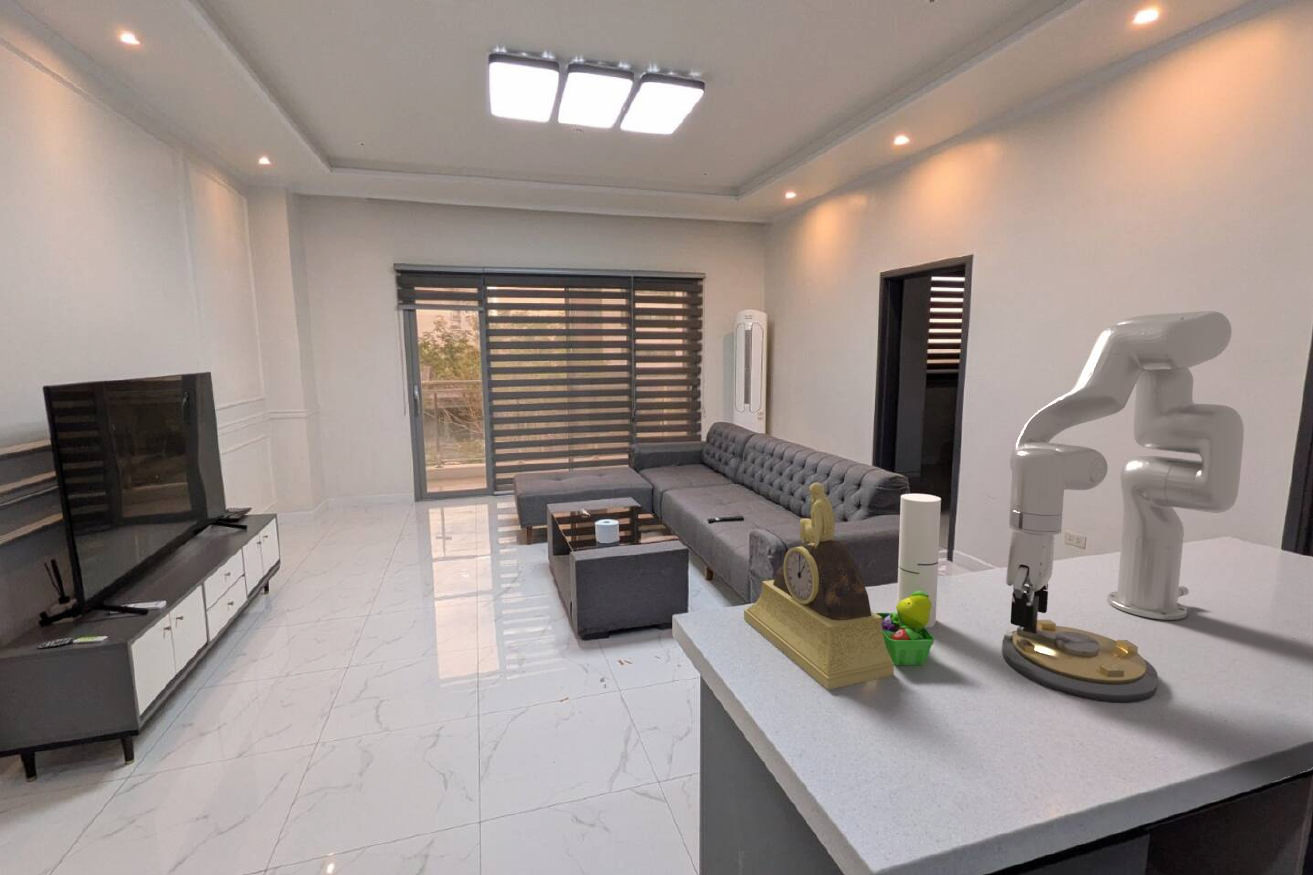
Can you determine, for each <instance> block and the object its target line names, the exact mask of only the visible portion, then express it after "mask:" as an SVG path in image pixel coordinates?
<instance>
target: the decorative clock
mask: <svg viewBox="0 0 1313 875" xmlns="http://www.w3.org/2000/svg"><path fill="white" fill-rule="evenodd" d="M808 489H809V493H810V498H812V499H811V500H810V501H811V502H810V504H811V506H810V507H811V508H810V518H801V519H800V520H799V529H798V530H799V533H800V534H799V537H800V540H801V543H800V545H798V546H793V547H791V548H788V550H787V552H786V553H785V556H784V557H783V558H784V560H783V564H782V565H781V566H780V567H779V569H777V571H776V574H775V577H774V579H771V580H764V581H763V580H762V581H761V584H762V585H761V591H760V596H759V597H758V598H757V600H756V601H755V603H753V604H752V605H751V606H748V608H747V609H744V610H743V619H744V621H746V622H747V623H748V624H749V625H751V626H752V627H753V628H754V629H755V631H758V633H760V634H761V635H762V636H764V638H766V639H767V640H768V641H769V642H770V641H771V642H770V643H772V645H774V646H775V647H776V648H777V649H779V650H780V651H781V652H782V653H783V652H784V653H783V654H784V655H786V657H788V658H790V660H792V661H793V662H794V663H795V664H796V663H797V664H796V665H797V666H799V667H800V668H801V669H802V670H804V672H805V673H807V674H808V675H809V676H810V677H811V678H813V679H814V680H815V681H816V682H817V683H818V684H820V685H822V687H823V688H824V689H826V690H827V691H828V690H833V689H836V688H837V689H838V688H841V687H842V688H843V687H846V686H851V685H855V684H854V683H856V684H859V683H864V682H867V681H868V682H869V681H872V680H877V679H882V678H887V677H890V676H893V675H894V674H895V673H894V670H895V665H894V664H893V662H892V660H891V657H890V655H889V653H888V651H887V648H886V645H885V642H884V638H883V631H882V617H881V616H879V615H877V614H876V613H877V612H874V611H872V610H871V604H870V599H869V594H868V591H867V588H866V586H865V583H864V581H863V577H862V575H861V572H860V570H859V568H858V566H857V564H856V563H855V561H854V559H853V556H852V555H851V553H850V552H849V549H848V547H847V546H846V545H845V544H844V543H843V542H841V541H838V540H834V539H835V532H836V531H835V530H836V529H835V526H836V523H835V519H836V517H835V514H834V509H833V506H832V503H831V501H830V500H829V498H828V497H827V496H826V493H825V488H824V486H823V484H822V483H820V482H813V483H812V484H810V486H808Z"/></svg>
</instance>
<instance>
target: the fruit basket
mask: <svg viewBox="0 0 1313 875" xmlns="http://www.w3.org/2000/svg"><path fill="white" fill-rule="evenodd" d="M928 597H929V595H928V594H925V593H924V592H922V591H915V592H914V593H913V594H912V595H911V596H910V597H908V598H905V599H903V600H901V601H900V602H899V603H898V604H897V603H896V612H875V613H876V614H877V615H879V616H881V617H882V631H883V638H884V642H885V645H886V648H887V651H888V653H889V655H890V657H891V660H892V663H893V664H894V666H917V665H919V666H925V664H926V663H927V659H928V656H929V654H930V650H931V648H932V645H933V644H934V642H935V637H934V636H933V635H932V634H931V633H930V632H929V631H928V630H927V628H924V626H926V625H927V623H928V621H929V617H930V609H931V602H930V600H929V599H928ZM897 612H898V613H897Z"/></svg>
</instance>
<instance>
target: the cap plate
mask: <svg viewBox="0 0 1313 875" xmlns="http://www.w3.org/2000/svg"><path fill="white" fill-rule="evenodd" d="M1015 631H1016V630H1014V631H1006V632H1005V634H1004V635H1003V639H1002V643H1001V644H1002V645H1001V655H1002V658H1003V660H1004V662H1005V663H1006V664H1007V665H1008V666H1009V667H1010V668H1011V669H1013V671H1015V672H1017V674H1019V675H1020V676H1022V677H1024V678H1025V679H1028V680H1029V681H1031V682H1032V683H1035V684H1038V685H1040V686H1042V687H1045V688H1046V689H1049V690H1053V691H1055V692H1058V693H1060V694H1065V695H1068V696H1071V697H1075V698H1080V699H1084V700H1090V701H1096V702H1102V703H1111V704H1112V703H1113V704H1114V703H1115V704H1130V703H1131V704H1134V703H1139V702H1144V701H1146V700H1149V699H1151V698H1152V697H1154V695H1156V693H1157V690H1158V680H1159V676H1158V672H1157V670H1156V668H1155V667H1154V666H1153V665H1152V663H1150V662H1149V661H1148V660H1146V659H1145V658H1143V659H1144V661H1145V662H1146V673H1145V676H1144V677H1143V679H1141V680H1140V681H1137V682H1134V683H1129V684H1100V683H1093V682H1087V681H1082V680H1077V679H1073V678H1069V677H1066V676H1062V675H1059V674H1056V673H1053V672H1051V671H1048V670H1046V669H1043V668H1041V667H1039V666H1037V665H1035V664H1033V663H1031V662H1029V661H1028V660H1026V659H1025V658H1023V657H1022V656H1021V655H1019V654H1018V653H1017V652H1016V650H1015V649H1014V647H1013V634H1014V632H1015Z"/></svg>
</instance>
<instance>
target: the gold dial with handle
mask: <svg viewBox="0 0 1313 875" xmlns="http://www.w3.org/2000/svg"><path fill="white" fill-rule="evenodd" d="M1025 593H1026V592H1025ZM1026 594H1027V597H1028V595H1029V593H1026ZM1038 601H1039V596H1037V595H1035V594H1034V597H1033V602H1032V605H1033V606H1034V617H1033V627H1032V628H1031V629H1028V628H1024V627H1020V626H1017V628H1016V630H1014V631H1015V632H1014V634H1013V647H1014V649H1015V650H1016V652H1017V653H1018V654H1019V655H1021V656H1022V657H1023V658H1025V659H1026V660H1028V661H1029V662H1031V663H1033V664H1035V665H1037V666H1039V667H1041V668H1043V669H1046V670H1048V671H1051V672H1053V673H1056V674H1059V675H1062V676H1066V677H1069V678H1073V679H1077V680H1082V681H1087V682H1093V683H1100V684H1129V683H1134V682H1137V681H1140V680H1141V679H1143V677H1144V676H1145V673H1146V662H1145V661H1144V659H1145V658H1143V656H1141V655H1140V654H1139V653H1138V650H1139V646H1138V645H1136V644H1135V643H1133V642H1131V641H1129V640H1128V639H1116V640H1114V639H1113V638H1109V637H1107V636H1104V635H1101V634H1098V633H1095V632H1091V631H1087V630H1082V629H1078V628H1074V627H1069V626H1068V627H1067V626H1061V625H1057V624H1056V623H1055V622H1054V621H1052V619H1038V615H1039V614H1038V613H1039V612H1038Z"/></svg>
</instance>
